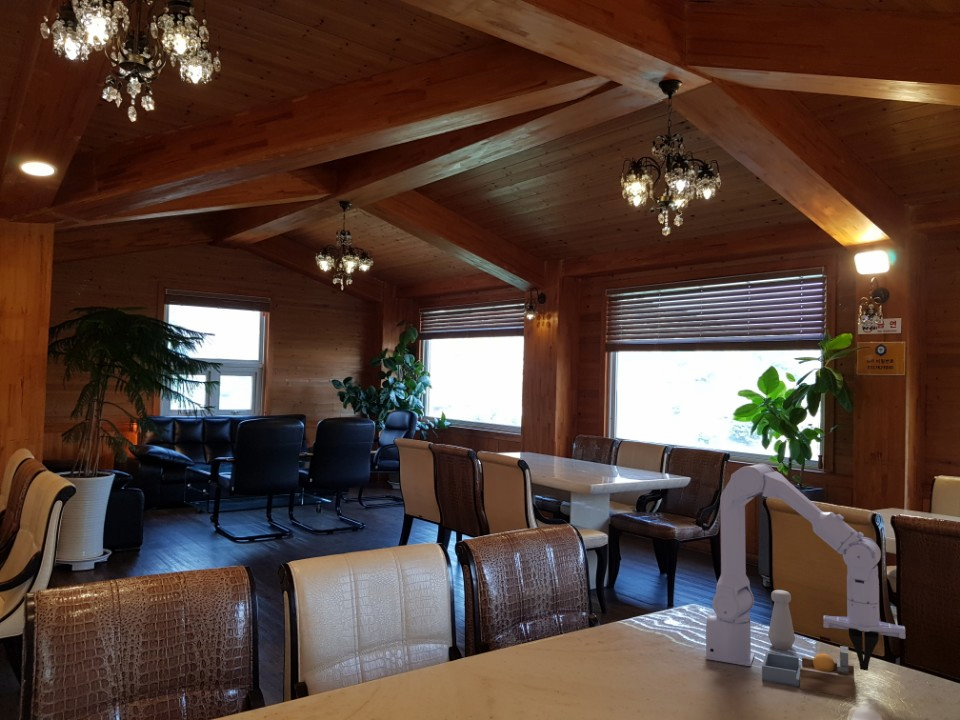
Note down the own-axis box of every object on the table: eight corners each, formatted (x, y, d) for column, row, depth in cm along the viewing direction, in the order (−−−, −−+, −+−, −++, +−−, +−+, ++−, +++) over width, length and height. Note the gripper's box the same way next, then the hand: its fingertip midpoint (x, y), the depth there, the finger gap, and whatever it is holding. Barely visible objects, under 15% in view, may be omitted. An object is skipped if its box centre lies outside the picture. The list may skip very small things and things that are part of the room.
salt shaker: (797, 652, 165) (796, 595, 166) (771, 650, 166) (770, 593, 167) (791, 643, 171) (791, 588, 172) (766, 641, 172) (765, 587, 173)
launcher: (799, 688, 145) (799, 670, 145) (802, 671, 154) (802, 654, 154) (854, 698, 141) (854, 679, 141) (854, 680, 149) (853, 663, 150)
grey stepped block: (837, 678, 144) (837, 652, 144) (837, 670, 149) (837, 644, 149) (848, 680, 143) (848, 654, 143) (848, 671, 148) (848, 646, 148)
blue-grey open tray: (762, 680, 149) (761, 665, 149) (766, 666, 157) (766, 652, 157) (798, 687, 146) (798, 672, 146) (801, 672, 154) (801, 657, 154)
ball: (812, 675, 147) (812, 655, 147) (813, 668, 150) (813, 649, 150) (834, 678, 145) (834, 658, 145) (834, 672, 148) (834, 652, 149)
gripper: (822, 599, 145) (823, 668, 144) (906, 610, 138) (907, 682, 138) (823, 591, 151) (824, 657, 150) (903, 601, 144) (904, 669, 144)
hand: (863, 668), depth 144 cm, fingers closed
